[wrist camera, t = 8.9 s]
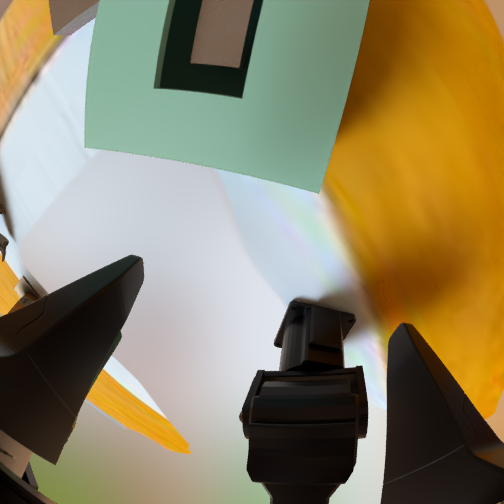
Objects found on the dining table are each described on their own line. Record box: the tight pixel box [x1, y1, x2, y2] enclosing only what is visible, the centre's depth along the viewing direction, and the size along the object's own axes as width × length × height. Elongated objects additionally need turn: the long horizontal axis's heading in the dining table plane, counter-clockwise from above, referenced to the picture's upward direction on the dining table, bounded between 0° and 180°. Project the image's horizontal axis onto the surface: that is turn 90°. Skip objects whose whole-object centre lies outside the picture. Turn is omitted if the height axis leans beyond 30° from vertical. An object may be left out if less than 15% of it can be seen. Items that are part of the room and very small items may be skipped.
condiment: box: [9, 277, 40, 313], centre depth 31 cm, size 7×8×12 cm
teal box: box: [85, 0, 370, 194], centre depth 11 cm, size 14×12×7 cm
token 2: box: [190, 0, 263, 71], centre depth 12 cm, size 5×2×5 cm, turn 170°
